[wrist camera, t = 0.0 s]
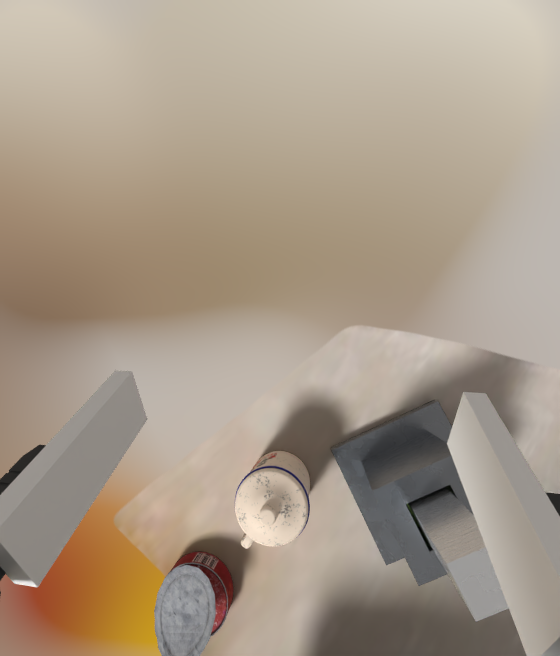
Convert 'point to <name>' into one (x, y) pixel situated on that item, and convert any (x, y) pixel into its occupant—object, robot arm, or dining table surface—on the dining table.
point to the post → (460, 551)
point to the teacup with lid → (273, 500)
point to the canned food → (192, 604)
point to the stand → (401, 482)
